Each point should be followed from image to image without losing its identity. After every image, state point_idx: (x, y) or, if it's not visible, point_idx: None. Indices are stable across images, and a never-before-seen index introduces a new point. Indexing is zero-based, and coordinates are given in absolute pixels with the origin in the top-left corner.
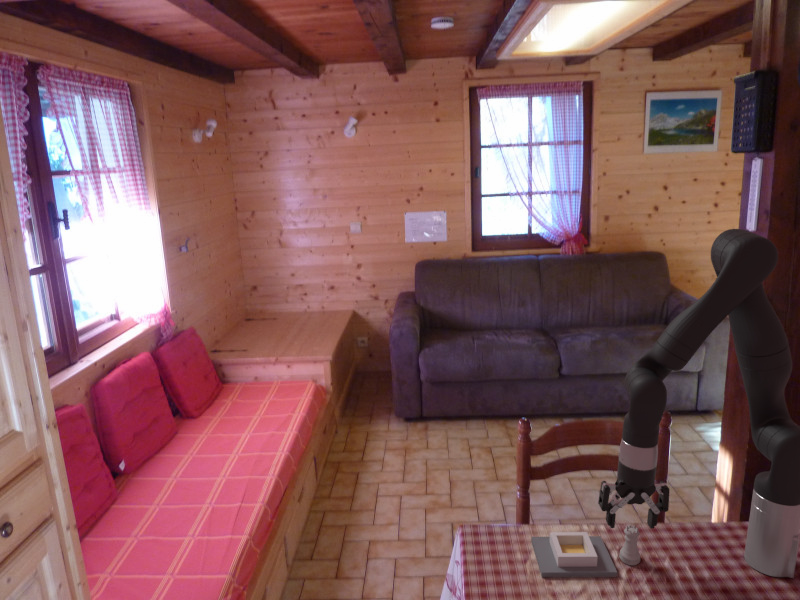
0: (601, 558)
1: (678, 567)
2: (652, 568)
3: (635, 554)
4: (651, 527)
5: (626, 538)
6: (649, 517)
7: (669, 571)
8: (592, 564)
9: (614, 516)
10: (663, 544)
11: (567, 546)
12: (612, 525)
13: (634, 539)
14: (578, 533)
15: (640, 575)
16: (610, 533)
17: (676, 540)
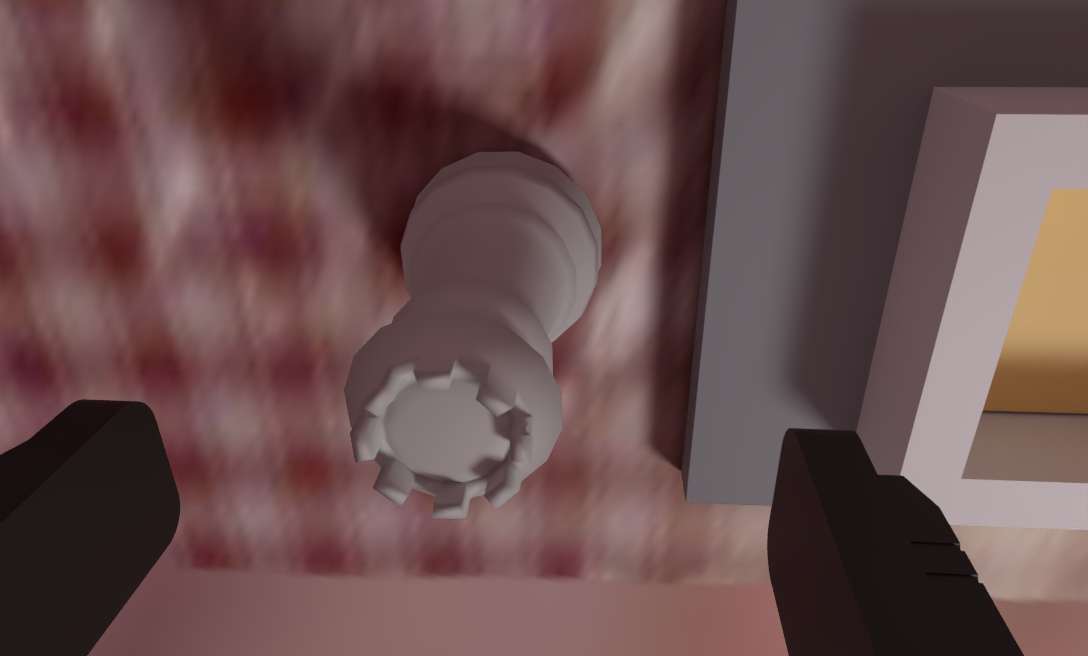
0: (818, 214)
1: (75, 125)
2: (321, 114)
3: (458, 212)
4: (114, 409)
5: (540, 345)
6: (67, 589)
7: (166, 67)
8: (1002, 90)
9: (898, 636)
10: (165, 411)
11: (1085, 391)
12: (849, 462)
13: (443, 311)
14: (993, 506)
15: (468, 6)
16: (562, 542)
17: None
